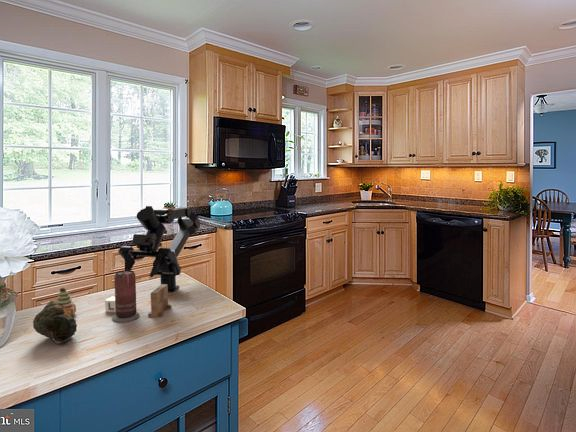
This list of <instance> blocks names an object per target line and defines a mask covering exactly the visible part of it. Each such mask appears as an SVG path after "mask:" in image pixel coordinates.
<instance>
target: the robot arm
mask: <svg viewBox="0 0 576 432" xmlns="http://www.w3.org/2000/svg"><path fill="white" fill-rule="evenodd" d="M136 219H137V220H138V222H139V223H140V224H141V226H142V227H143V229H145V230H146V233H145V234H140V233H135V234H133V237H132V242H131V244H132V245H136V248H137V249H138V250H136V249H134V248H133V246H130V245H129V246H126V245H122V246H120V247H119V249H118V251H117V253H118V255H120V256H121V257H122V258H123V260H124V271H127V270H130V271H132V270H133V267H134V265H135V264H136V260H137V258H138V257H147V258H154V260H153V262H152V268H151V269H150V273H149V277H150V278H153V277H154V276H160V285H162V284H168V293H169V292H171V293H172V292H173V293H174V292H175V291H176V290H177V289H178V288H179V287H180V285H177V279H176V278H177V277H176V276H180V275H181V271H182V267H181V266H180V264H179V261H178V256H179V255H180V254H181V251H182V249H183V248H184V246H185V245H186V242H187V241H188V239H189V237H190V236H192V235H194V234H196V233H197V231H199V229H200V227H201V221H200V219H199V217H198V215H197V214H195V213H194V212H193V211H192V209H191V208H190V207H186V206H185V207H184V206H179V207H176V208H159V207H157V208H153V206H152V205H146V206H145V207H144V208H142V209H140V210H139V211H138V212H137V213H136ZM176 219H177V220H176ZM175 220H176V222H177V224H178V228H179V229H178V231H177V233H176V234H175V236H174V237H173V239H172V240H171V242H170V244H169V245H168V247H162V245H163V244H162V239H163V237H164V235H167V234H168V231H167V228H166V226H165V224H166V225H167V224H168V225H170V224H172V223H173V222H174V221H175Z"/></svg>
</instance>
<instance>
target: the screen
mask: <svg viewBox="0 0 576 432" xmlns="http://www.w3.org/2000/svg"><path fill="white" fill-rule="evenodd" d="M172 307H173V306H172V304H171V303H170V304H169V292H168V284H162V285H161V284H160V285H159V286H158V287H156V288H155V289H154V290H153V291H151V292H150V310H151V311H149V312H148V313H147V317H148V318H149V317H150V318H162V317H163V316H164V312H165V311H166V310H167V309H168V310H170V309H171V308H172Z"/></svg>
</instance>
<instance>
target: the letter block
mask: <svg viewBox="0 0 576 432" xmlns="http://www.w3.org/2000/svg"><path fill="white" fill-rule="evenodd" d="M104 307H105V312H106V313H116V308H115V295H114V296H112V295H111V296H110V297H108V298H106V299H105V300H104Z"/></svg>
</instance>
